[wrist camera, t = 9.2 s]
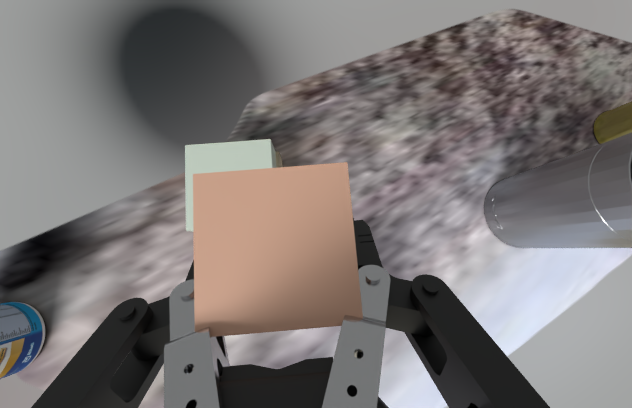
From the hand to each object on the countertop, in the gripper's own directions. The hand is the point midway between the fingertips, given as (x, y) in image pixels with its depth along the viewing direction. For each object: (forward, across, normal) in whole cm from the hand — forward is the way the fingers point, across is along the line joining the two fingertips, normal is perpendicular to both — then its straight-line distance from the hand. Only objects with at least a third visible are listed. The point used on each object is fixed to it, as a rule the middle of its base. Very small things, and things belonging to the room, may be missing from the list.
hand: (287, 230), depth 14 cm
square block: (+3, 0, +4) cm, 5 cm away
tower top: (+18, +7, +9) cm, 21 cm away
